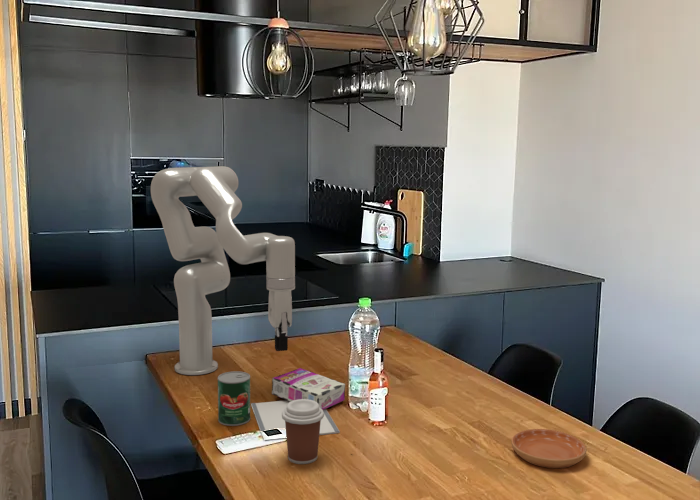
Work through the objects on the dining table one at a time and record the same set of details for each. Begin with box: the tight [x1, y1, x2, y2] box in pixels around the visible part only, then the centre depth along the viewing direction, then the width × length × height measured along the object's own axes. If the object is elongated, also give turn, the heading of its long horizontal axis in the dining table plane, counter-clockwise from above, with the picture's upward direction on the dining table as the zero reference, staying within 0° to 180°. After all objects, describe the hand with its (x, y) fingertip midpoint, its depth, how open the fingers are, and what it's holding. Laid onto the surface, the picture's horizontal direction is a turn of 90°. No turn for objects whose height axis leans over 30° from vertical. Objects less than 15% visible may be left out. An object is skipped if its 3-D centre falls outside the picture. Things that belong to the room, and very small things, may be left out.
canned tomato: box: [217, 370, 251, 427], centre depth 168 cm, size 8×8×11 cm
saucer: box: [511, 428, 587, 469], centre depth 152 cm, size 16×16×3 cm
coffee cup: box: [282, 399, 324, 465], centre depth 148 cm, size 9×9×12 cm
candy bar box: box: [271, 367, 346, 410], centre depth 181 cm, size 11×5×16 cm
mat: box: [250, 399, 341, 436], centre depth 170 cm, size 22×18×1 cm
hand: (281, 349), depth 184 cm, fingers closed
